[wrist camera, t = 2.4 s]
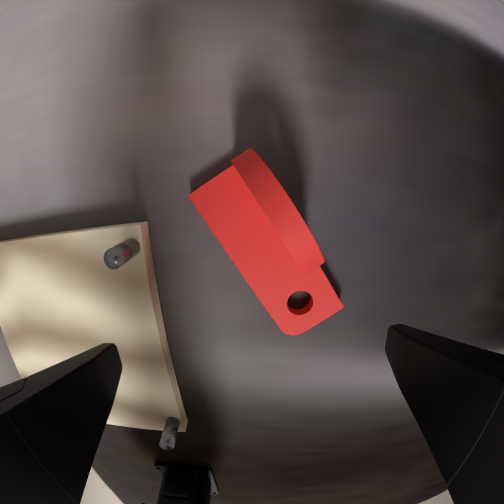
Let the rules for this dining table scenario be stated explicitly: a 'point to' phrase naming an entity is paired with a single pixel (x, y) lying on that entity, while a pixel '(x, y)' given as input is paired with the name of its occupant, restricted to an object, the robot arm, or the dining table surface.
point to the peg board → (93, 315)
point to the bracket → (267, 241)
